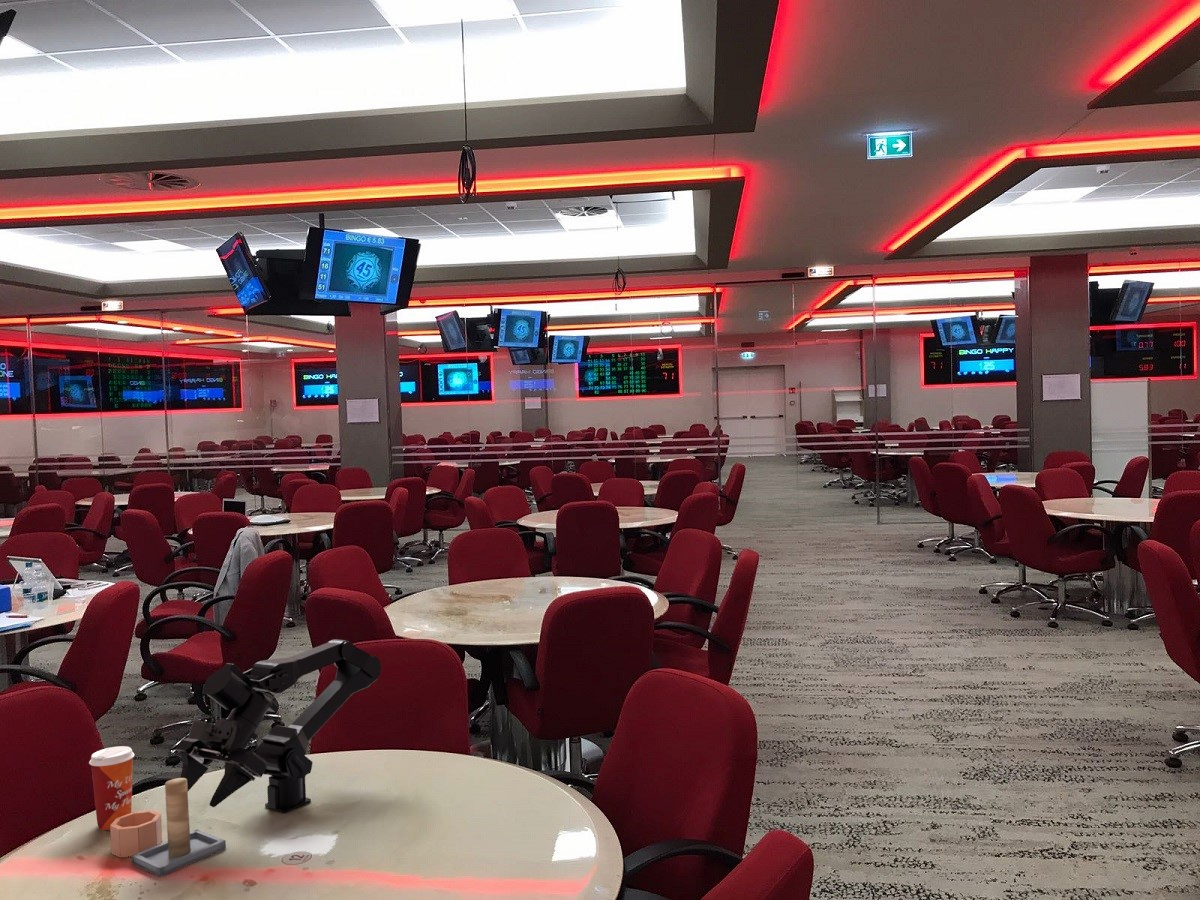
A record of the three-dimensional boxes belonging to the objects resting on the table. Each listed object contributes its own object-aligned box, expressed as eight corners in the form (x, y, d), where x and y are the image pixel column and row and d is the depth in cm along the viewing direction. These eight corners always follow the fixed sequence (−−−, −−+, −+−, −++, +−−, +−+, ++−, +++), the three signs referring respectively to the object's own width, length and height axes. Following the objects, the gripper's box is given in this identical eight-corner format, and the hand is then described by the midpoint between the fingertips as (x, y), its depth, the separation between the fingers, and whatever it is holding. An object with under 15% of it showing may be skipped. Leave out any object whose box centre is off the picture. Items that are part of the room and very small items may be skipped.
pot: (146, 834, 164) (145, 807, 164) (168, 843, 159) (167, 816, 159) (104, 850, 157) (103, 822, 157) (126, 860, 153) (125, 832, 153)
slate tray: (197, 837, 162) (197, 829, 162) (225, 848, 157) (225, 840, 157) (132, 864, 152) (131, 855, 152) (159, 877, 147) (159, 868, 147)
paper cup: (117, 834, 164) (114, 759, 164) (81, 832, 166) (79, 758, 166) (146, 816, 172) (143, 745, 172) (112, 814, 173) (109, 744, 173)
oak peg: (177, 847, 156) (173, 777, 156) (194, 848, 156) (191, 778, 156) (164, 856, 153) (160, 785, 153) (181, 857, 152) (178, 785, 152)
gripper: (182, 695, 166) (130, 774, 156) (250, 706, 157) (199, 790, 147) (220, 723, 173) (172, 800, 163) (287, 735, 164) (240, 818, 154)
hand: (194, 801), depth 157 cm, fingers open, 9 cm apart
